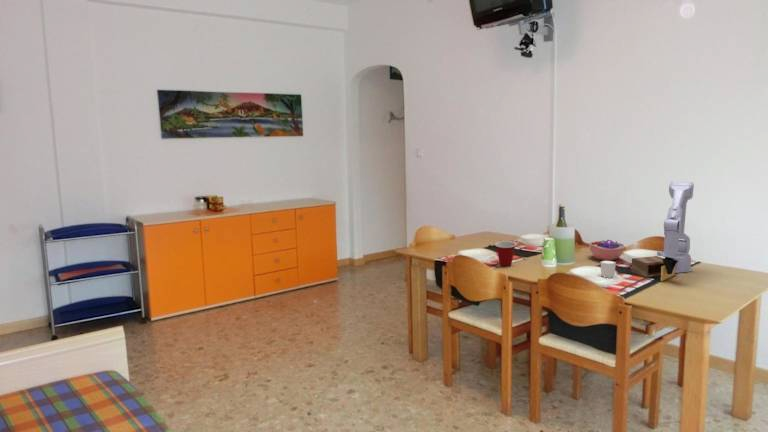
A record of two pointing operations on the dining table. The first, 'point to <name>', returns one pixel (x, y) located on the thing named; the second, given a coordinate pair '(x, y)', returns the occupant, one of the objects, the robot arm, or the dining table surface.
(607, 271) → the white short cylinder
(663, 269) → the cabinet door
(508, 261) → the plastic cup
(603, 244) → the cell model
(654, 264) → the cabinet
